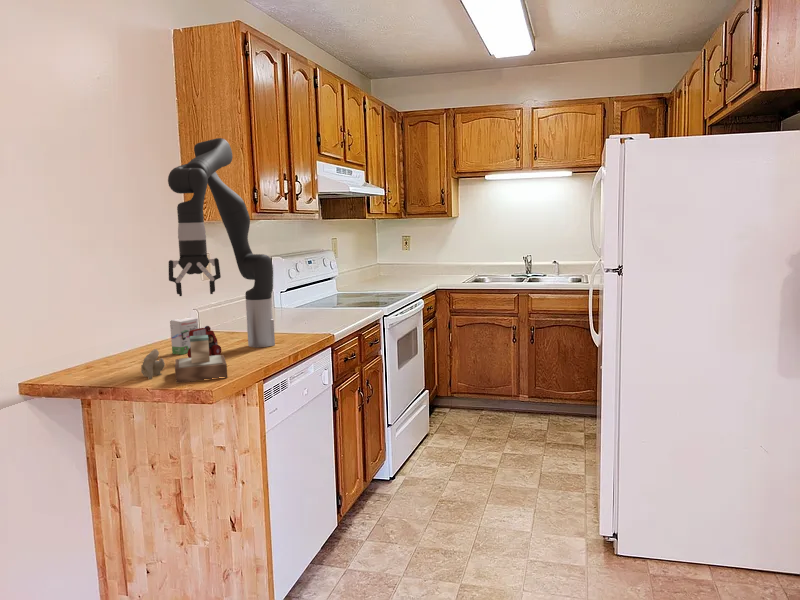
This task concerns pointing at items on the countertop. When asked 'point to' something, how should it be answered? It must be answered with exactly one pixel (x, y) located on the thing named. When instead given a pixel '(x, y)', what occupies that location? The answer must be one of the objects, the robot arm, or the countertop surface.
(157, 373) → the bone
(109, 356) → the countertop surface
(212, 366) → the base slab
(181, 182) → the robot arm
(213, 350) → the toy fire truck
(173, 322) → the ink box
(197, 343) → the maple block
